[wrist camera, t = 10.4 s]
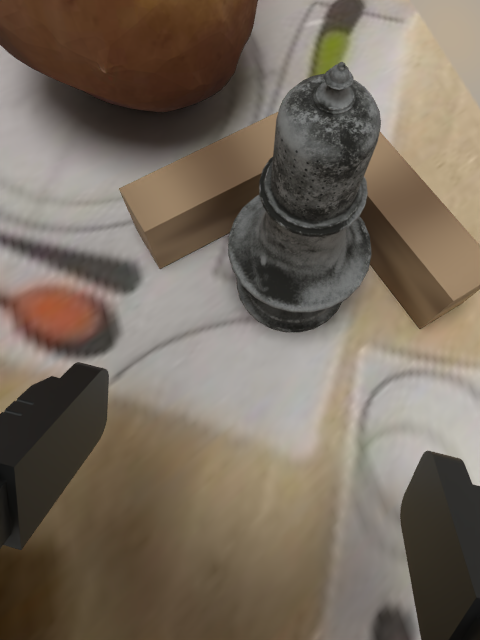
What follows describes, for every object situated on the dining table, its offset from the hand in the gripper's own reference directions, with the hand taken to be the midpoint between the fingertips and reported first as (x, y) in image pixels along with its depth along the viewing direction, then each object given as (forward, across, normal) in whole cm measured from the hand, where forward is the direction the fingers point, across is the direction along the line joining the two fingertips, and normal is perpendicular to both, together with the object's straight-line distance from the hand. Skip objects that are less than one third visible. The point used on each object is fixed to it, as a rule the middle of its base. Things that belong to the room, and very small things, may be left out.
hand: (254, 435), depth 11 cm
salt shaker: (+12, 0, 0) cm, 12 cm away
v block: (+14, 0, -2) cm, 14 cm away
